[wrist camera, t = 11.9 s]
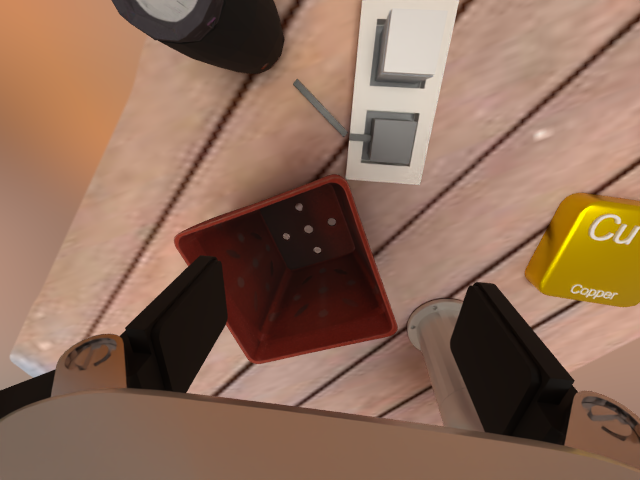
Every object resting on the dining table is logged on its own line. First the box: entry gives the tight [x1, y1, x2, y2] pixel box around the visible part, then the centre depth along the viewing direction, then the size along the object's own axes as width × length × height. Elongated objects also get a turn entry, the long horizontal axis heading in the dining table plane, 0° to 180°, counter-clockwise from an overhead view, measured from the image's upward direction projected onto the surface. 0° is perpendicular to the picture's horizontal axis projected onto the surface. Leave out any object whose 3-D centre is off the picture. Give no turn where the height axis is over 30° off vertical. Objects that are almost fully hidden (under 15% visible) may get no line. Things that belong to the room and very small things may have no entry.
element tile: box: [525, 193, 640, 307], centre depth 40 cm, size 15×15×5 cm
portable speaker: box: [112, 0, 284, 74], centre depth 26 cm, size 9×9×20 cm
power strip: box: [293, 0, 459, 185], centre depth 33 cm, size 18×20×7 cm
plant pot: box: [174, 174, 397, 364], centre depth 37 cm, size 19×19×17 cm
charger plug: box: [375, 8, 448, 84], centre depth 29 cm, size 5×5×9 cm
